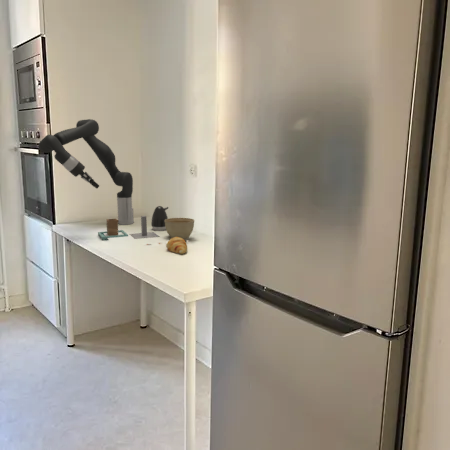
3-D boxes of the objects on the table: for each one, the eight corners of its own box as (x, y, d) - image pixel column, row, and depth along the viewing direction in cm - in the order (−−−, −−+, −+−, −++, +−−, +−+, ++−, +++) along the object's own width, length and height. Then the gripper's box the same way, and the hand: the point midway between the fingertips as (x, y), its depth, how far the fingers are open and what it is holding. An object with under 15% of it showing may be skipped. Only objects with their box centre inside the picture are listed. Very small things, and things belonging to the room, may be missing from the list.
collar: (107, 235, 251) (106, 219, 250) (117, 234, 254) (117, 218, 252) (108, 236, 247) (108, 220, 245) (119, 235, 249) (119, 220, 248)
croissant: (189, 261, 213) (196, 246, 213) (171, 254, 209) (178, 238, 209) (175, 250, 232) (182, 237, 232) (158, 243, 228) (165, 229, 228)
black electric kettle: (171, 232, 263) (170, 206, 260) (153, 233, 259) (152, 207, 257) (166, 229, 272) (166, 204, 270) (149, 230, 269) (149, 205, 266)
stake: (129, 236, 253) (128, 215, 250) (153, 233, 258) (152, 213, 256) (134, 241, 240) (134, 219, 238) (160, 238, 246) (159, 217, 244)
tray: (98, 235, 254) (97, 232, 253) (122, 233, 259) (122, 230, 259) (102, 240, 241) (102, 236, 241) (128, 238, 247) (128, 234, 247)
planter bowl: (194, 242, 237) (194, 222, 235) (163, 243, 236) (163, 222, 234) (194, 236, 253) (194, 217, 251) (166, 236, 252) (165, 217, 250)
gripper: (80, 161, 231) (104, 182, 238) (76, 160, 243) (99, 180, 250) (70, 172, 230) (94, 193, 236) (67, 170, 242) (90, 190, 249)
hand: (97, 186), depth 243 cm, fingers open, 8 cm apart
